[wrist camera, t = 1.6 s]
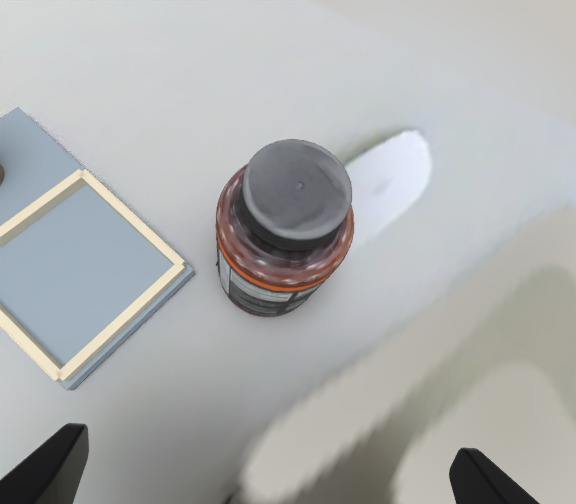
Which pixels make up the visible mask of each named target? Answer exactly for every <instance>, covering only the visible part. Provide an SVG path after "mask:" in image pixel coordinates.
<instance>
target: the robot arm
mask: <svg viewBox="0 0 576 504" xmlns="http://www.w3.org/2000/svg"><path fill="white" fill-rule="evenodd" d="M88 453H89V442H88V427H87V425H86V424H77V423H68V424H66V425H65V426H63V427H62V428H61V429H60V430H59V431H57V432H56V433H55V434H54V435H53V436H51V437H50V438H49V439H48V440H47V441H46V442H44V443H43V444H42V445H41V446H40V447H39V448H37V449H36V450H35V451H34V452H33V453H32V454H30V455H29V456H28V457H27V458H26V459H24V460H23V461H22V462H21V463H20V464H19V465H17V466H16V467H15V468H14V469H13V470H12V471H10V472H9V473H8V474H7V475H6V476H4V477H3V478H2V479H1V480H0V504H73V501H74V498H75V495H76V492H77V489H78V486H79V483H80V480H81V477H82V474H83V471H84V468H85V465H86V462H87V458H88ZM449 478H450V482H451V486H452V490H453V493H454V496H455V500H456V504H539V503H538V502H537V501H536V500H535V499H534V498H533V497H532V496H530V495H529V494H528V493H527V492H526V491H525V490H524V489H522V488H521V487H520V486H519V485H518V484H517V483H516V482H514V481H513V480H512V479H511V478H510V477H509V476H508V475H507V474H506V473H504V472H503V471H502V470H501V469H500V468H499V467H498V466H496V465H495V464H494V463H493V462H492V461H491V460H490V459H489V458H487V457H486V456H485V455H484V454H483V453H482V452H481V451H479V450H478V449H475V448H461V449H460V450H459V451H458V453H457V455H456V457H455V459H454V461H453V463H452V465H451V467H450V472H449Z"/></svg>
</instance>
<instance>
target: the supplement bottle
mask: <svg viewBox="0 0 576 504" xmlns="http://www.w3.org/2000/svg"><path fill="white" fill-rule="evenodd" d="M351 202H352V187H351V182H350V179H349V176H348V174H347V171H346V170H345V168H344V166H343V165H342V164H341V162H340V161H339V160H338V159H337V158H336V157H335V156H334V155H333V154H331V153H330V152H329V151H327V150H326V149H324V148H323V147H321V146H319V145H317V144H315V143H311V142H308V141H304V140H297V139H288V140H282V141H276V142H274V143H272V144H269V145H267V146H265V147H264V148H262V149H261V150H259V151H258V152H257V153H256V154H255V155H254V156H253V157H252V159H251V160H250V162H249V163H248V164H247V165H245V166H244V167H243V168H241V169H240V170H238V171H237V172H236V173H235V175H234V176H233V177H232V178H231V179H230V180H229V181H228V183H227V184H226V186H225V187H224V189H223V191H222V193H221V195H220V198H219V201H218V206H217V212H216V231H217V233H216V240H217V257H218V261H217V264H218V272H219V276H220V280H221V283H222V286H223V288H224V290H225V292H226V294H227V295H228V297H229V298H230V299H231V301H232V302H233V303H234V304H236V305H237V306H238V307H239V308H241V309H243V310H244V311H246V312H248V313H251V314H254V315H258V316H264V317H274V316H279V315H283V314H286V313H288V312H290V311H292V310H294V309H295V308H297V307H299V306H300V305H301V304H302V303H303V302H304V301H306V300H307V299H308V297H309V296H310V295H311V294H312V293H313V292H314V291H316V290H317V288H319V286H320V285H321V284H322V283H323V282H324V281H325V280H326V279H327V278H329V276H330V275H331V274H332V273H333V272H334V271H335V270H336V268H337V267H338V266H339V265H340V264H341V262H342V261H343V260H344V258H345V256H346V254H347V252H348V250H349V248H350V245H351V243H352V239H353V234H354V214H353V210H352V206H351ZM217 264H216V266H217Z"/></svg>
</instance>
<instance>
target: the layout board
mask: <svg viewBox="0 0 576 504" xmlns="http://www.w3.org/2000/svg"><path fill="white" fill-rule="evenodd" d="M193 275H194V270H193V269H192V268H191V267H190V266H189V265H188V264H187V263H186V262H185V261H184V260H183V259H182V258H181V257H180V256H179V255H178V254H177V253H176V252H175V251H173V250H172V249H171V248H170V247H169V246H168V245H167V244H166V243H165V242H164V241H163V240H162V239H161V238H159V237H158V236H157V235H156V234H155V233H154V232H153V231H152V230H151V229H150V228H149V227H148V226H147V225H145V224H144V223H143V222H142V221H141V220H140V219H139V218H138V217H137V216H136V215H135V214H134V213H132V212H131V211H130V210H129V209H128V208H127V207H126V206H125V205H124V204H123V203H122V202H121V201H120V200H118V199H117V198H116V197H115V196H114V195H113V194H112V193H111V192H110V191H109V190H108V189H107V188H106V187H104V186H103V185H102V184H101V183H100V182H99V181H98V180H97V179H96V178H95V177H94V176H93V175H92V174H90V173H89V172H88V171H87V170H86V169H84V168H83V167H82V166H81V165H80V164H79V163H78V162H77V161H76V160H75V159H74V158H73V157H71V156H70V155H69V154H68V153H67V152H66V151H65V150H64V149H63V148H62V147H61V146H60V145H59V144H57V143H56V142H55V141H54V140H53V139H52V138H51V137H50V136H49V135H48V134H47V133H46V132H45V131H43V130H42V129H41V128H40V127H39V126H38V125H37V124H36V123H35V122H34V121H33V120H32V119H31V118H29V117H28V116H27V115H26V114H25V113H24V112H23V111H22V110H21V109H20V108H19V107H17V108H16V109H14V110H12V111H11V112H9V113H8V114H6V115H4V116H3V117H1V118H0V326H1V327H2V328H3V329H4V330H5V331H6V332H7V333H8V334H9V335H10V336H11V338H12V339H13V340H14V341H15V342H16V343H17V344H18V345H19V346H20V347H21V348H22V349H23V350H24V351H25V352H26V353H27V354H28V355H29V356H30V357H31V358H32V359H33V360H34V361H35V362H36V363H37V364H38V365H39V366H40V367H41V368H42V369H43V370H44V371H45V372H46V373H47V374H48V375H49V376H50V377H51V378H52V379H53V380H54V381H55V382H59V383H60V384H61V385H62V386H63V387H64V388H65V390H74V389H75V388H76V387H77V386H78V385H79V384H80V383H81V382H82V381H83V380H84V379H85V378H86V377H87V376H88V375H89V374H91V373H92V372H93V371H94V370H95V369H96V368H97V367H98V366H99V365H100V364H101V363H102V362H103V361H104V360H105V359H106V358H107V357H108V356H109V355H110V354H112V353H113V352H114V351H115V350H116V349H117V348H118V347H119V346H120V345H121V344H122V343H123V342H124V341H125V340H126V339H127V338H128V337H129V336H130V335H131V334H132V333H134V332H135V331H136V330H137V329H138V328H139V327H140V326H141V325H142V324H143V323H144V322H145V321H146V320H147V319H148V318H149V317H150V316H151V315H152V314H153V313H155V312H156V311H157V310H158V309H159V308H160V307H161V306H162V305H163V304H164V303H165V302H166V301H167V300H168V299H169V298H170V297H171V296H172V295H173V294H174V293H176V292H177V291H178V290H179V289H180V288H181V287H182V286H183V285H184V284H185V283H186V282H187V281H188V280H189V279H190V278H191V277H192V276H193Z"/></svg>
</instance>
